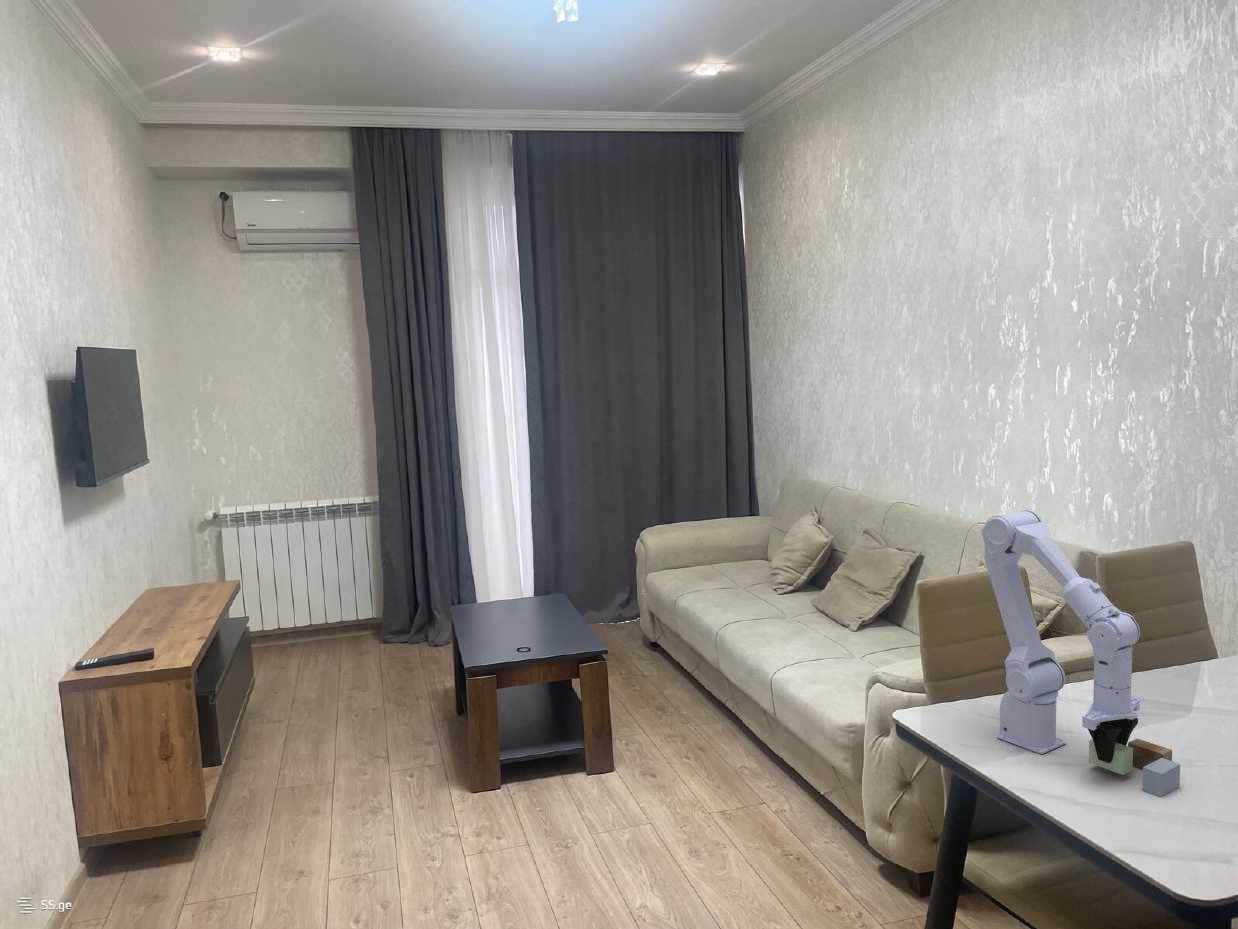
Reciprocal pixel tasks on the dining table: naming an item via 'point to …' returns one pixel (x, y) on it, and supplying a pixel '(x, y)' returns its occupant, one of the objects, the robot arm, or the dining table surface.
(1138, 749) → the walnut brick
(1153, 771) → the slate brick
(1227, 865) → the dining table surface
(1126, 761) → the sage brick
